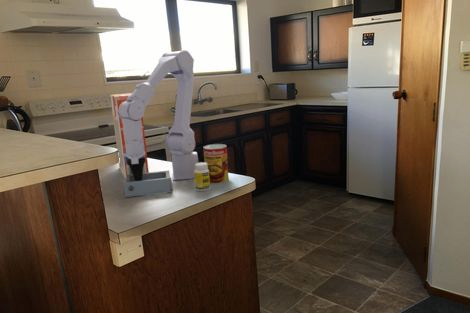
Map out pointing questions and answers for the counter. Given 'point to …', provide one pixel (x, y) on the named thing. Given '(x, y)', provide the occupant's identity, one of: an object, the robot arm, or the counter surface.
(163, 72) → the robot arm
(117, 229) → the counter surface
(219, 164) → the canned food
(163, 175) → the housing
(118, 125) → the pasta box
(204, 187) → the supplement bottle
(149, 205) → the counter surface
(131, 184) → the door
